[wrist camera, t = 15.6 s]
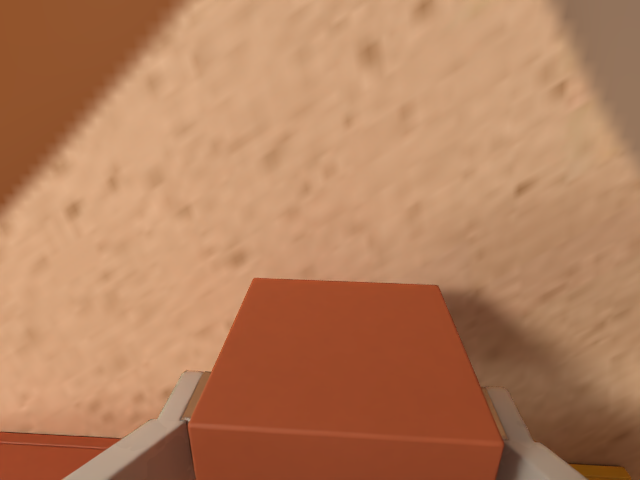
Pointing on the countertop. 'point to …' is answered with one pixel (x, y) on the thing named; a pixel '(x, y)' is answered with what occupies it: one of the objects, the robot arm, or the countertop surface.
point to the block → (343, 389)
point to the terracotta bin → (46, 455)
